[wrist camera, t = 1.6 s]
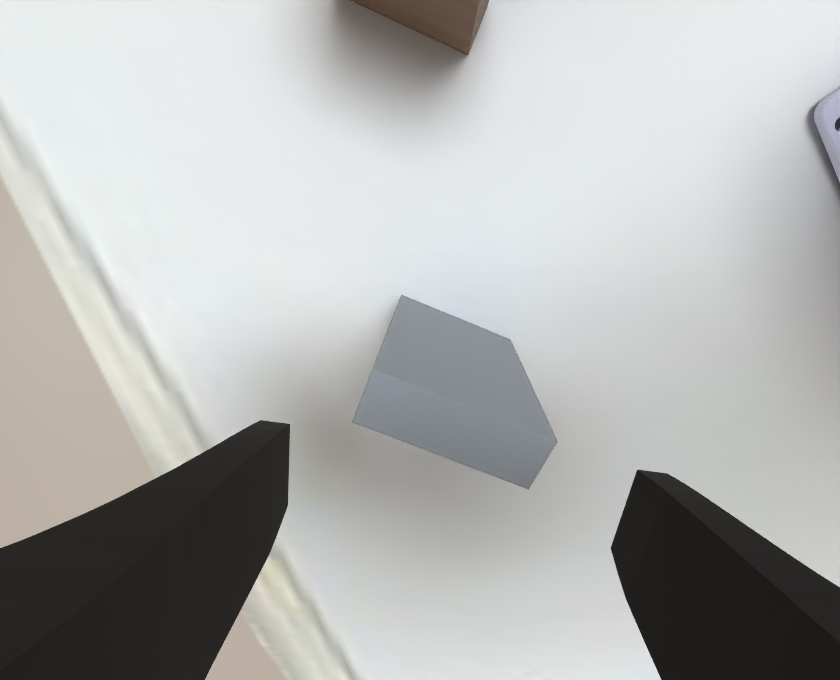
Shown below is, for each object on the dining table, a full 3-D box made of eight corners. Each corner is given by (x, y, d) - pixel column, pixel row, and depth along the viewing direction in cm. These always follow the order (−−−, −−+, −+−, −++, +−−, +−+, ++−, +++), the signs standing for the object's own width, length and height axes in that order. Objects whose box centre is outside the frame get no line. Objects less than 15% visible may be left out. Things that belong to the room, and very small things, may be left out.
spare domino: (494, 371, 19) (528, 489, 12) (388, 328, 19) (352, 421, 11) (510, 339, 19) (557, 441, 11) (401, 294, 18) (373, 368, 11)
